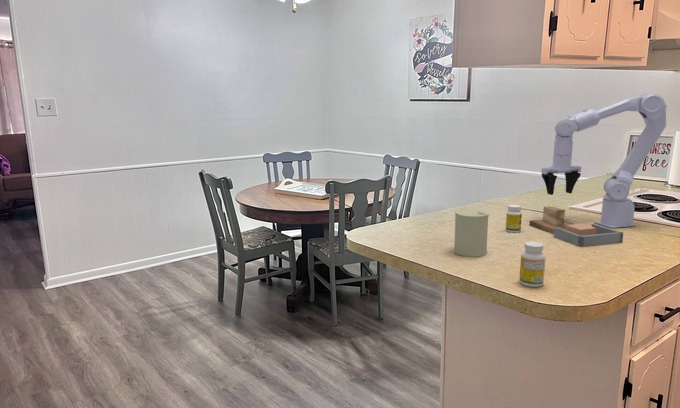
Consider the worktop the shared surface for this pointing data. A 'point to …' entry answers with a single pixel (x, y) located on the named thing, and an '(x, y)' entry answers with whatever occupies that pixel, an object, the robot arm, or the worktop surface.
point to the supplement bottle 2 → (532, 265)
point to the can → (471, 232)
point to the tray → (590, 236)
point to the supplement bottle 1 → (513, 218)
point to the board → (547, 225)
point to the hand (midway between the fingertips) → (559, 193)
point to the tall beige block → (553, 215)
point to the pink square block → (581, 229)
